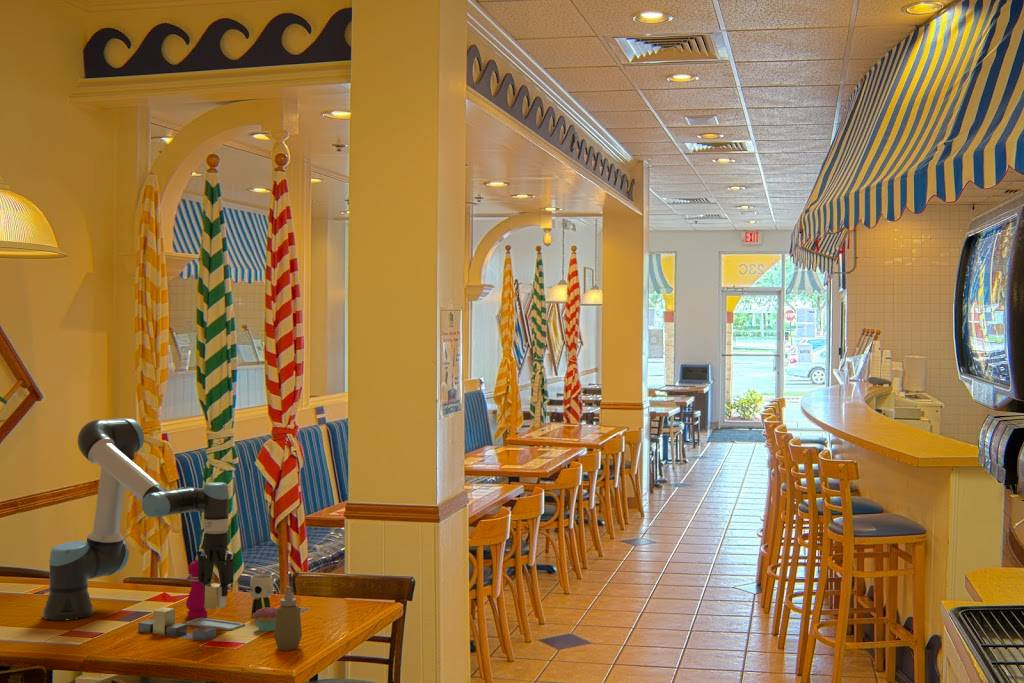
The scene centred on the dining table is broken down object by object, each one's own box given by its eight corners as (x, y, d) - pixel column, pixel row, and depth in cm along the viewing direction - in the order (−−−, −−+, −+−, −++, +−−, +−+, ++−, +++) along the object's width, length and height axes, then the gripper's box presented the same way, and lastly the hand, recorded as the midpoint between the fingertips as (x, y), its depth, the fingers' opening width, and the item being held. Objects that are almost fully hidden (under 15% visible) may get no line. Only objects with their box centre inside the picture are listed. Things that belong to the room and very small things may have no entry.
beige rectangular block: (214, 605, 339) (214, 583, 339) (225, 606, 337) (225, 584, 338) (204, 608, 335) (204, 585, 335) (215, 609, 333) (216, 587, 334)
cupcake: (256, 635, 326) (257, 596, 326) (250, 628, 334) (250, 590, 334) (284, 632, 330) (284, 593, 330) (277, 625, 338) (277, 588, 338)
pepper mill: (202, 620, 344) (202, 558, 344) (181, 618, 345) (182, 557, 346) (212, 615, 351) (213, 554, 351) (192, 613, 352) (193, 553, 353)
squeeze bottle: (275, 644, 316) (276, 584, 316) (303, 644, 316) (304, 583, 316) (271, 652, 307) (272, 589, 308) (300, 651, 308) (300, 589, 308)
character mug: (241, 615, 350) (242, 576, 351) (258, 611, 356) (259, 572, 356) (263, 620, 344) (264, 580, 344) (280, 616, 350) (281, 577, 350)
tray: (184, 625, 337) (184, 622, 337) (199, 620, 343) (199, 617, 343) (230, 631, 330) (230, 628, 330) (244, 626, 336) (244, 623, 336)
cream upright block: (153, 633, 326) (153, 610, 326) (163, 629, 330) (163, 607, 330) (164, 634, 324) (164, 611, 324) (174, 631, 328) (175, 608, 328)
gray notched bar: (138, 632, 328) (138, 622, 328) (149, 628, 333) (149, 619, 333) (204, 642, 317) (205, 632, 317) (216, 638, 322) (216, 628, 322)
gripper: (186, 531, 337) (185, 605, 337) (230, 535, 330) (230, 610, 330) (202, 528, 344) (201, 600, 344) (246, 531, 337) (245, 605, 336)
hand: (215, 605), depth 337 cm, fingers closed on beige rectangular block, 4 cm apart
